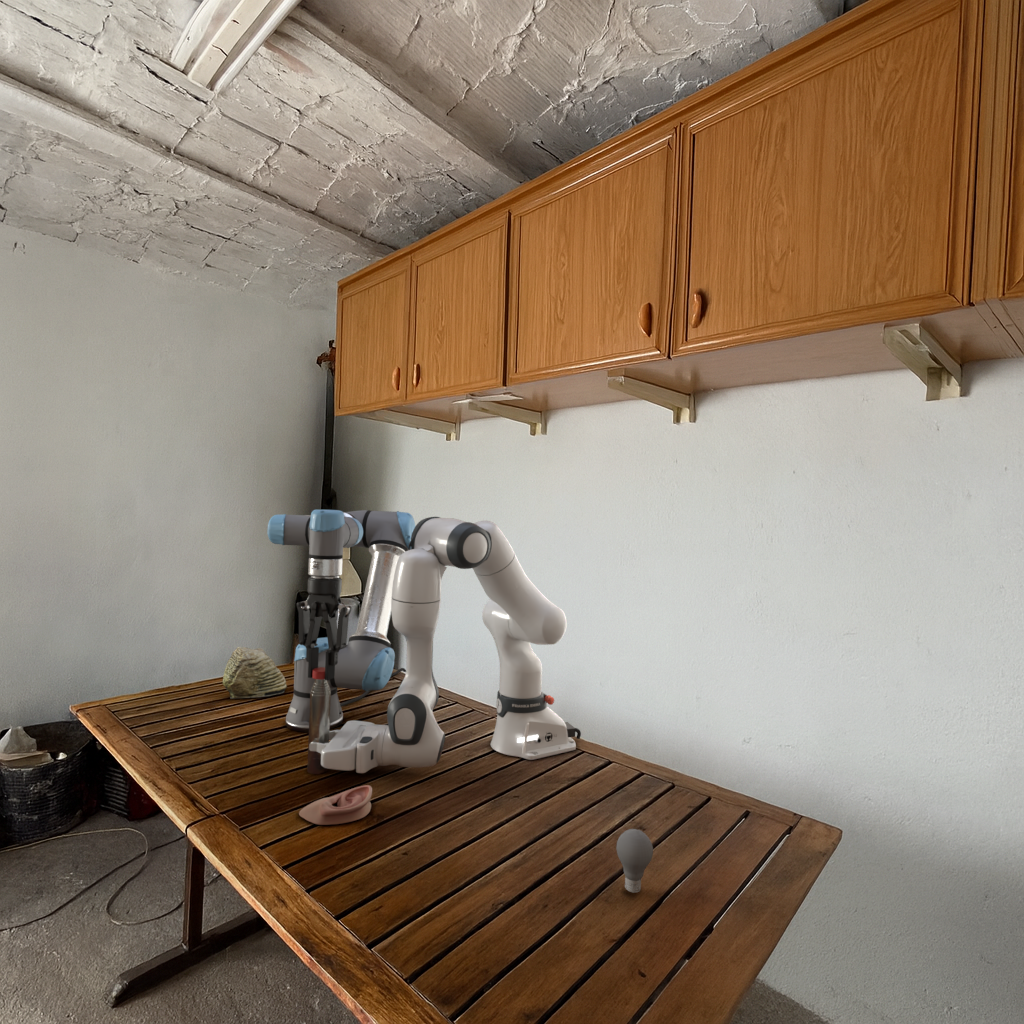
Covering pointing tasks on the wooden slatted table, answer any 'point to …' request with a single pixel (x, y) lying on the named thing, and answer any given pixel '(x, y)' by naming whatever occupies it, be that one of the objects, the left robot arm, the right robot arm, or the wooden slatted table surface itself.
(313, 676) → the cap
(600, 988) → the wooden slatted table surface
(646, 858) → the light bulb
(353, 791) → the anatomical model
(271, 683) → the fossil
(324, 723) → the bottle
